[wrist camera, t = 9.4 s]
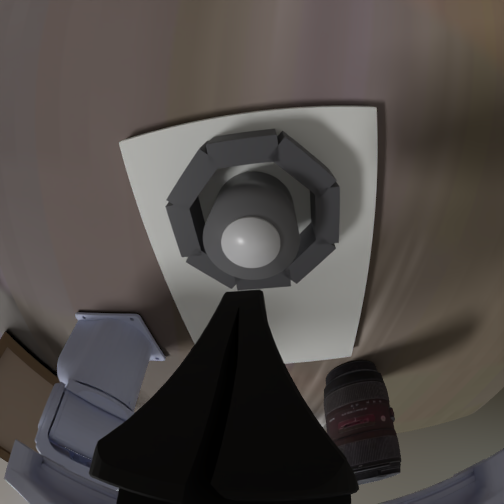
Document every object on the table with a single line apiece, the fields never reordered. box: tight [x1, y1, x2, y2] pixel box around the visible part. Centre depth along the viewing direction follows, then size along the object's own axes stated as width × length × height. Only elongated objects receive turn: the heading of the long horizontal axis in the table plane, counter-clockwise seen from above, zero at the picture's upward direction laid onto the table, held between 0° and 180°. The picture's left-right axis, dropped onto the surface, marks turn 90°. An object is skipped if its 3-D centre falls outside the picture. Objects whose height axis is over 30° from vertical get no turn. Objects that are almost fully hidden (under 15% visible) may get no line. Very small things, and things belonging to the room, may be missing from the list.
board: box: [119, 105, 378, 364], centre depth 20 cm, size 16×24×3 cm, turn 8°
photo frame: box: [0, 332, 64, 462], centre depth 30 cm, size 15×22×25 cm
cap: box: [203, 171, 300, 280], centre depth 16 cm, size 5×5×4 cm
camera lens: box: [324, 361, 401, 485], centre depth 24 cm, size 8×8×15 cm
